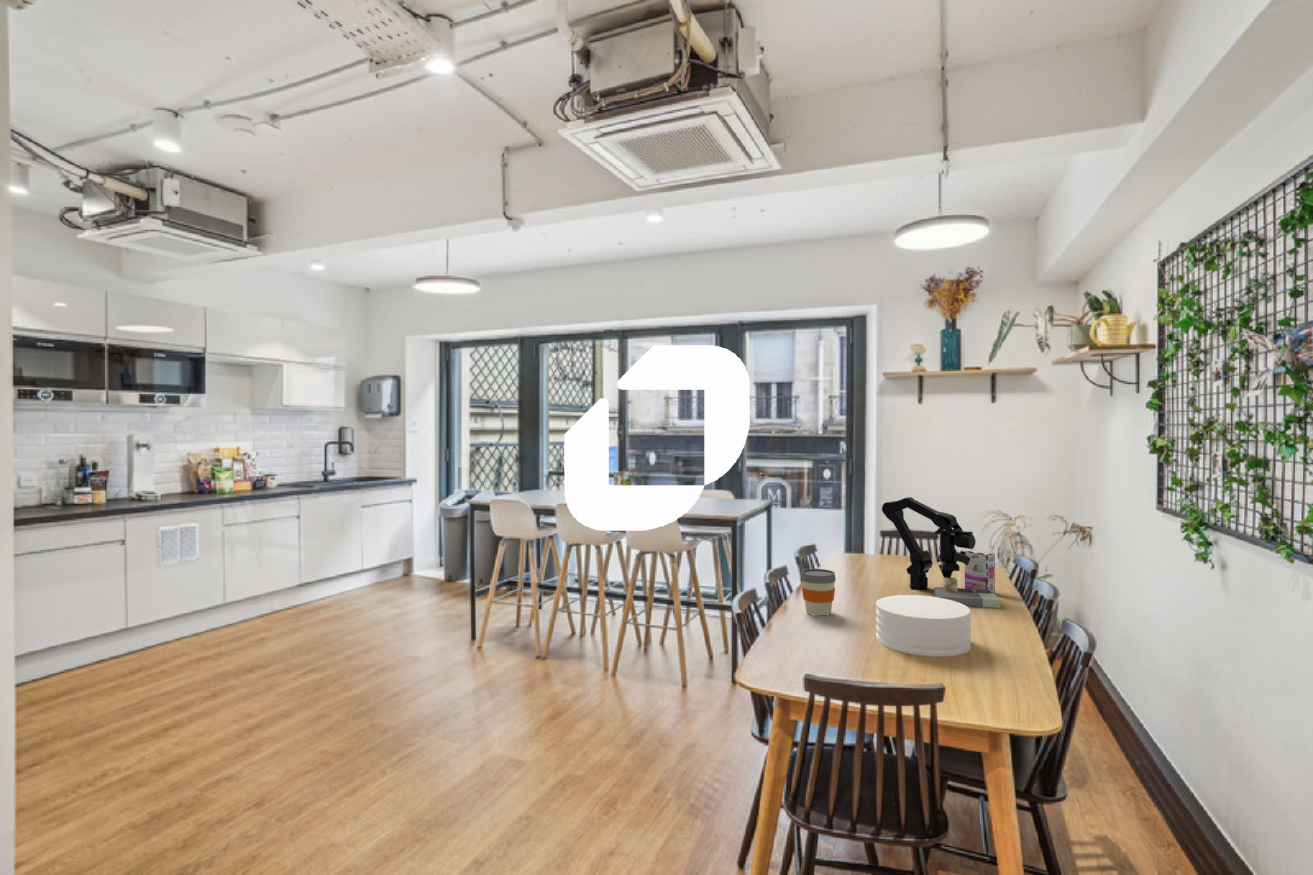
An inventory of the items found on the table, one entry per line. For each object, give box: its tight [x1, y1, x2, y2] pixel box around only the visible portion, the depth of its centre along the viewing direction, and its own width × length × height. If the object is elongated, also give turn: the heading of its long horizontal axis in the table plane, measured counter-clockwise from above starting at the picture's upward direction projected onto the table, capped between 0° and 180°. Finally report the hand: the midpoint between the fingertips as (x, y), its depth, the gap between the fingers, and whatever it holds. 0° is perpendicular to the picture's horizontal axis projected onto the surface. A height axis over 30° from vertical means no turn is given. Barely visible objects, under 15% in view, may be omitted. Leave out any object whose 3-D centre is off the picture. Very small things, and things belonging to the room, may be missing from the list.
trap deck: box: [933, 586, 1001, 609], centre depth 257 cm, size 21×16×3 cm
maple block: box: [942, 576, 958, 592], centre depth 262 cm, size 4×4×4 cm
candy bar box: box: [964, 549, 996, 594], centre depth 272 cm, size 11×5×16 cm, turn 25°
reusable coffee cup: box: [800, 568, 836, 616], centre depth 244 cm, size 13×13×15 cm
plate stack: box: [875, 594, 972, 657], centre depth 210 cm, size 28×28×12 cm
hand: (947, 583), depth 269 cm, fingers closed
